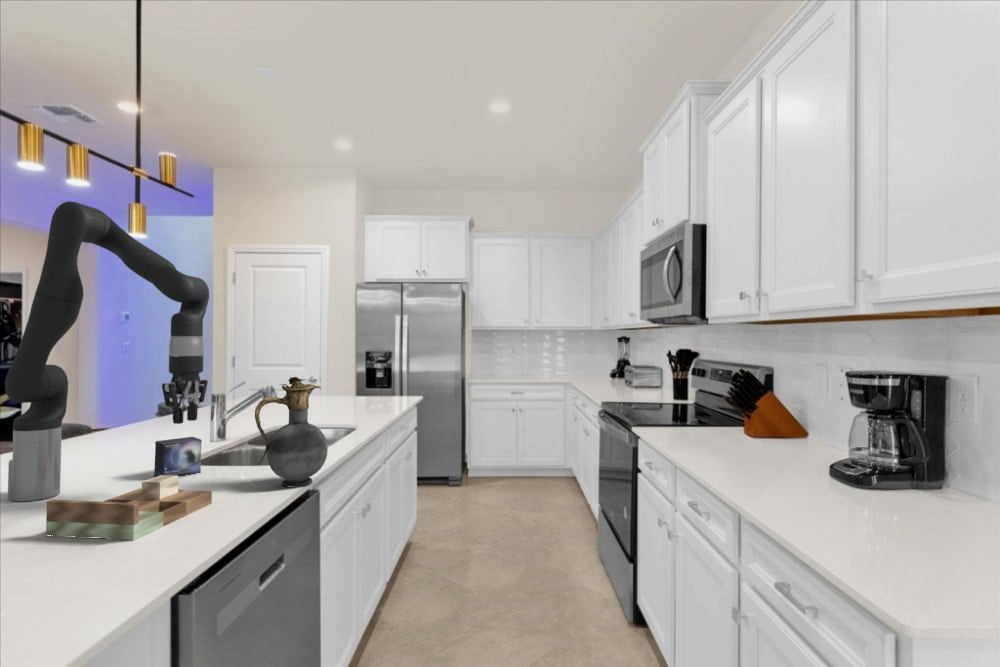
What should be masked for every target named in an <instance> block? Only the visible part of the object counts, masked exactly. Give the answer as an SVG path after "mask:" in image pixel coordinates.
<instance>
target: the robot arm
mask: <svg viewBox="0 0 1000 667" xmlns="http://www.w3.org/2000/svg"><path fill="white" fill-rule="evenodd" d="M50 221H51V222H50V226H49V230H48V231H49V233H48V239H47V246H46V251H45V252H46V253H45V256H44V261H43V266H42V269H41V274H40V277H39V282H38V284H37V287H36V290H35V293H34V297H33V300H32V303H31V308H30V312H29V315H28V319H27V322H26V326H25V327H24V330H23V331H24V332H23V335H22V338H21V341H20V344H19V346H18V349H17V351H16V353H15V355H14V357H13V360H12V362H11V364H10V367H9V369H8V372H7V374H6V376H5V383H4V390H5V393H6V396H7V398H8V399H9V400H10V401H13V403H17V404H26V403H30V406H29V407H28V409H27V410H26V411H24V412H23V413H22V414H20V415H19V416H17V417H16V418H14V420H13V424H12V458H11V459H10V460H8V474H7V477H8V478H7V499H8V500H11V501H12V502H32V501H39V500H44V499H48V498H52V497H55V496H58V495H59V494H60V493H61V477H62V476H61V474H62V473H61V472H62V471H61V470H62V428H63V427H62V424H63V419H64V417H65V416H66V413H67V406H68V393H69V380H68V375H67V373H66V371H65V370H64V369H63V368H62V367H60V366H59V365H56V364H47V361H48V358H49V356H50V354H51V353H52V350H53V349H54V347H55V346H56V344H58V342H59V341H60V340H61V339H62V338H63V337H64V336H65V335H66V333H68V332H69V330H70V329H71V328H72V327H73V325H74V324H75V323H76V322H77V319H78V318H79V315H80V311H81V307H82V303H83V299H84V285H83V283H82V278H81V276H80V272H79V268H78V258H79V252H80V248H81V245H82V243H86V244H93V245H96V246H98V247H100V248H103V249H105V250H107V251H109V252H110V253H113V254H114V255H115V256H116V257H118V258H119V259H120V260H121V262H123V264H124V265H125V267H127V268H128V269H129V270H130V271H132V272H133V273H134V274H136V275H137V276H139V277H141V278H142V279H144V280H145V281H147V282H149V283H151V284H152V285H153V286H154V287H155V288H156V289H157V290H158V291H159V292H160V293H161V294H163V295H164V296H165V297H166V298H168V299H169V300H172V301H174V302H176V303H180V308H179V312H176V313H174V314H173V315H172V316H171V318H170V338H169V345H168V372H169V374H171V375H172V377H171V380H170V381H169V382H166V383H162V385H161V390H162V394H163V398H164V404H165V407H169V408H171V409H172V423H173V424H177V425H178V424H179V425H180V424H181V425H182V424H183V423H184V414H185V413H184V412H185V411H184V405H185V401H186V402H187V403H186V404H187V408H186V409H187V410H186V417H187V418H186V420H187V421H189V422H190V421H194V422H195V421H197V419H198V406H199V405H200V403H204V401H205V398H206V393H207V392H206V391H207V388H208V382H209V381H208V380H207V379H201V377H200V374H201V373H203V372H204V353H205V352H204V351H205V350H204V345H205V344H204V338H203V337H204V336H203V335H204V322H203V321H204V318H205V316H206V312H207V307H208V304H209V300H210V289H209V286H208V284H207V282H206V281H205V280H203V279H202V278H200V277H196V276H191V275H186V274H185V273H183V272H181V271H179V270H177V268H176V266H175V264H173V263H172V262H171V261H170V260H169V259H166V258H165V257H163V256H162V255H161V254H159V253H158V252H156V251H154V250H152V249H151V248H149V247H148V246H146V245H144V244H143V243H141V241H138V240H137V239H136V238H134V237H133V236H132V235H130V234H129V233H127V232H126V231H125V230H124V229H123V228H122V227H120V225H119V224H117V223H116V222H115V221H114V220H113V219H112V218H111V217H109V216H108V215H107V214H106V213H105V212H103V211H102V210H100V209H98V208H95V207H92V206H89V205H87V204H83V203H80V202H76V201H65V202H63V203H61V204H59V205H58V206H57V207H56V208H55V210H54V212H53V213H52V217H51V220H50ZM178 400H179V401H178Z"/></svg>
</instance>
